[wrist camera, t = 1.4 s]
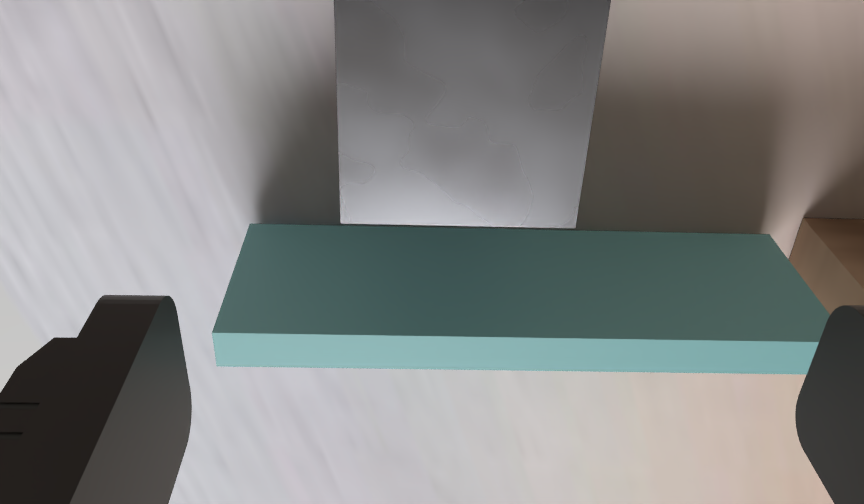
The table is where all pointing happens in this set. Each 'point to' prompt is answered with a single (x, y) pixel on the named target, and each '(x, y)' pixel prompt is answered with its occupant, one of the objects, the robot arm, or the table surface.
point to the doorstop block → (465, 109)
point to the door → (516, 301)
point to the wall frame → (831, 260)
